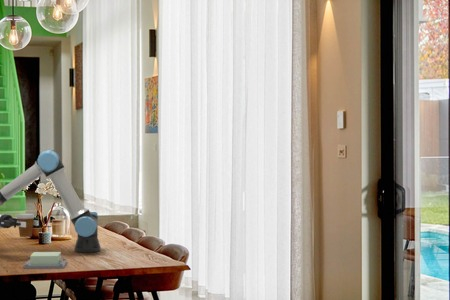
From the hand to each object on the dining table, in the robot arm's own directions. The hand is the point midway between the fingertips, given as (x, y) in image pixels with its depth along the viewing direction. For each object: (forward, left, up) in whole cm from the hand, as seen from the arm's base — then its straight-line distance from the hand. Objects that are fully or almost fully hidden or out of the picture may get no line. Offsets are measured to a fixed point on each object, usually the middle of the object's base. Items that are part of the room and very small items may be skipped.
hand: (31, 223), depth 415 cm
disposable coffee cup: (+4, -3, -7) cm, 9 cm away
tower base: (-9, +16, -20) cm, 27 cm away
